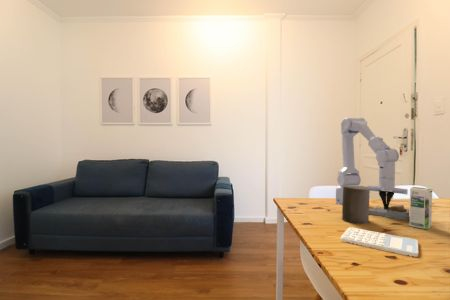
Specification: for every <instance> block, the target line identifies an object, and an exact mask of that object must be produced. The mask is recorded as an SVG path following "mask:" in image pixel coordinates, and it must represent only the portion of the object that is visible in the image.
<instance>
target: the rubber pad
mask: <svg viewBox="0 0 450 300" xmlns="http://www.w3.org/2000/svg"><path fill="white" fill-rule="evenodd" d="M374 209H379V210H385V209H384V206H379V205H378V206H376V207H374Z"/></svg>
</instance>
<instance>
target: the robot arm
mask: <svg viewBox="0 0 450 300" xmlns="http://www.w3.org/2000/svg"><path fill="white" fill-rule="evenodd" d="M340 129H341V130H340V133H341V149H342V150H341V151H342V168H341V169H339V171H338V174H337V183H338V185H337V186H336V188H335V204H337V205H338V204H341V205H342V203H343V186H344V185H359V186H360V184H361V181H362V179H361V176H360V172H359V170H358V169H357V168H355V167H356V166H355V149H354V147H355V146H354V138H355V136H356V135H359V134H361V135H362V137H363V138H365V140H367V141H368V142H367V143H368V146H369V147H370V149H371V150H372V152H373V153H374V154H375V158H376V162H377V165H378V185H367V186H366V187H369V188H370V191H371V192H378V195H379V197H380V199H381V201H382V204H383V205H382V206H383V207H384V209H385V210H388V207H390V203H391V201H392V199H393V197H394V195H395V194H401V195H408V189H407V188H401V187H396V186H395V185H396V182H395V181H396V163H397V162H398V160H399V158H400V155H399V152H398V150H397V149H396V148H391V147H390V146H389V145H388V144H387V143H386V142H385V140H384V138H382V137H380V136H376V134H374V132H373V131H372V129H371V128H370V127H369V126H368V121H366V119H365V118H363V117H358V118H357V117H344V118H343V120H342V121H341V122H340ZM355 183H356V184H355Z"/></svg>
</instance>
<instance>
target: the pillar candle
mask: <svg viewBox="0 0 450 300" xmlns="http://www.w3.org/2000/svg"><path fill="white" fill-rule="evenodd" d="M355 184H356V183H355ZM370 193H371V192H370V188H369V187H367V186H365V185H360V184H359V185H344V186H343V203H342V204H341V205H342V207H341V208H342V212H341V213H342V215H341V216H342V218H341V219H342V220H344V221H345V222H347V223H353V224H359V225H361V224H362V225H363V224H368V223H369V219H370V218H369V217H370V214H369V208H370Z"/></svg>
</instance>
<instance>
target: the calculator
mask: <svg viewBox="0 0 450 300" xmlns="http://www.w3.org/2000/svg"><path fill="white" fill-rule="evenodd" d="M340 241H341V242H343V241H345V242H344V243H347V242H350V243H349V244H352V243H354V244H353V245H356V244H358V245H357V246H361V245H362V247H367V248H370V247H371V248H372V249H376V250H380V251H384V252H389V253H393V252H394V253H393V254H398V255H402V256H407V255H409V256H408V257H412V256H414V257H413V258H417V257H419V240H418V239H415V238H410V237H405V236H399V235H396V234H395V235H394V234H389V233H385V232H379V231H372V230H367V229H361V228H356V227H351V226H350V227H348V228H346V230H345V231H344V232H343V234H341V236H340Z"/></svg>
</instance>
